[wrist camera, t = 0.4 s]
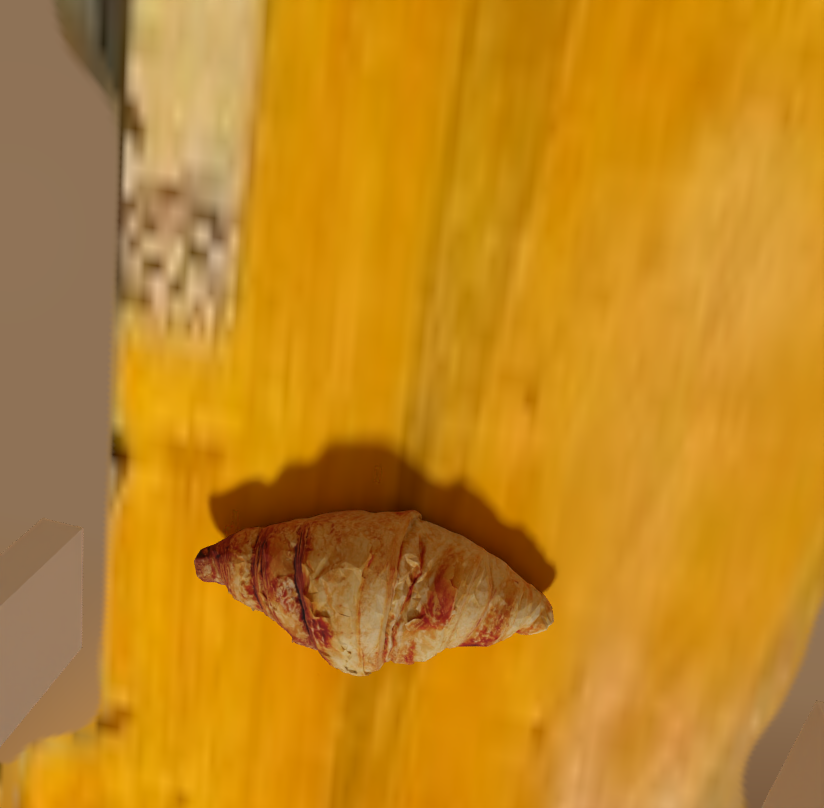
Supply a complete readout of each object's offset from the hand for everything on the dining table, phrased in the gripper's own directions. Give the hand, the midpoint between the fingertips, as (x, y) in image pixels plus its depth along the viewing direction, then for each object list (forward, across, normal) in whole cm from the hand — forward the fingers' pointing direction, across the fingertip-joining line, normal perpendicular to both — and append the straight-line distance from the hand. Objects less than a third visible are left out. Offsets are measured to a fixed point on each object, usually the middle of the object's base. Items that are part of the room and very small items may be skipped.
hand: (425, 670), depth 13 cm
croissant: (+27, -3, -17) cm, 33 cm away
